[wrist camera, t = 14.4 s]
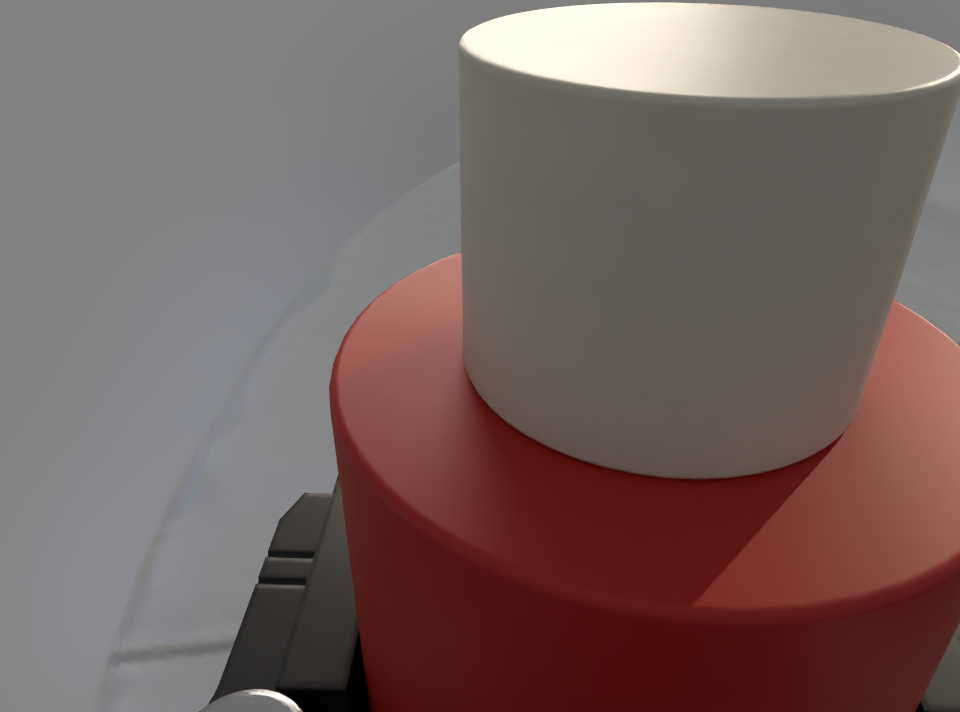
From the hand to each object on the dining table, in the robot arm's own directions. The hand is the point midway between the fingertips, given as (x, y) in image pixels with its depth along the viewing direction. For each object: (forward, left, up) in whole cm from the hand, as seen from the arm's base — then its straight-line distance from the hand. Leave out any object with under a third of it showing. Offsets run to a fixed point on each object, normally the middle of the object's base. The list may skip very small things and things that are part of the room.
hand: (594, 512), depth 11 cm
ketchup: (-2, -1, -8) cm, 9 cm away
